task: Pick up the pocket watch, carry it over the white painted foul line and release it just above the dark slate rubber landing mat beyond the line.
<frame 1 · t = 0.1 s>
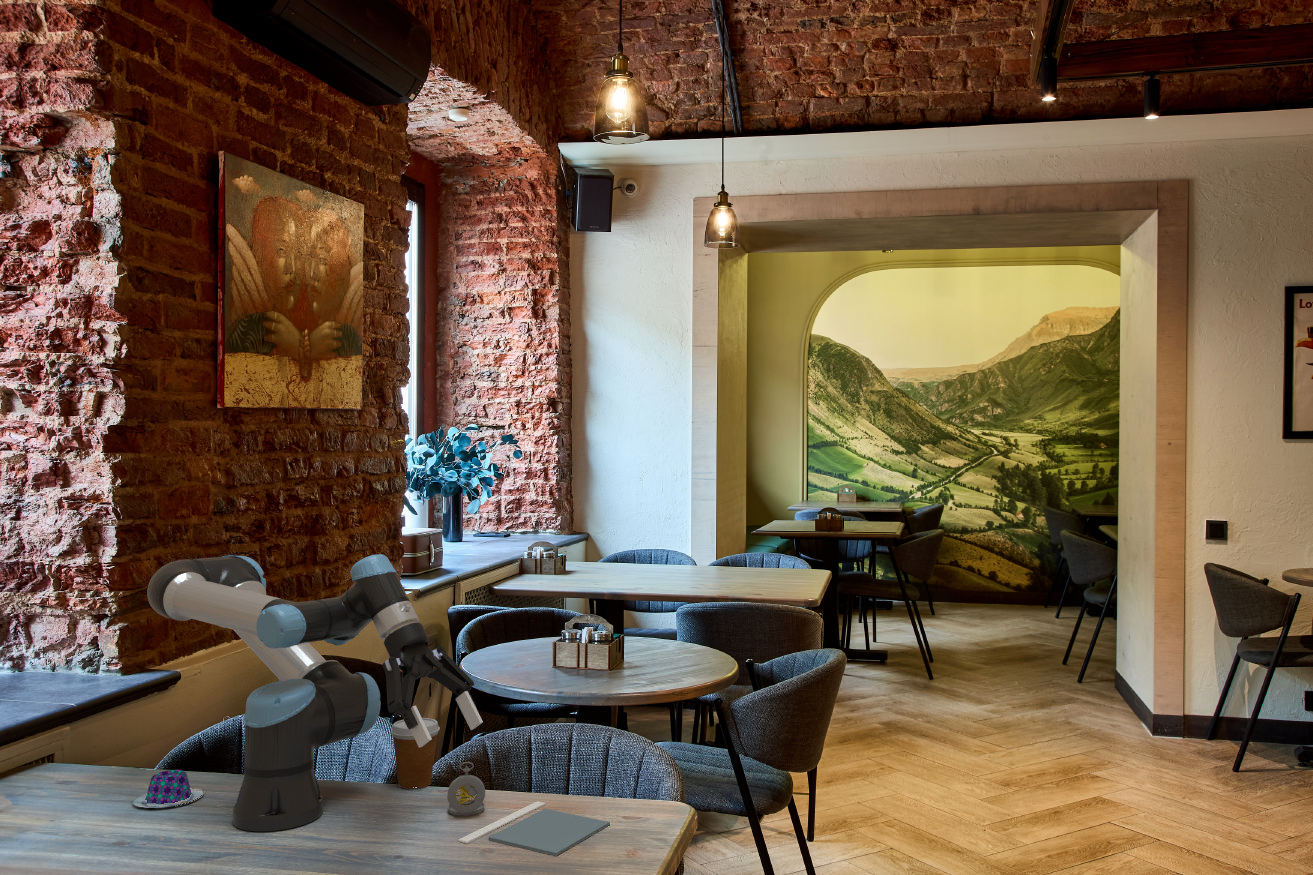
hand: (452, 734, 169), 15 cm above the table, tool tilted 35°, fingers open, 13 cm apart
landing mat: (550, 832, 164), on the table
foul line: (504, 821, 169), on the table
disposable coffee cup: (414, 784, 190), on the table
pocket watch: (465, 814, 173), on the table
purple domed brimmed part: (168, 802, 181), on the table
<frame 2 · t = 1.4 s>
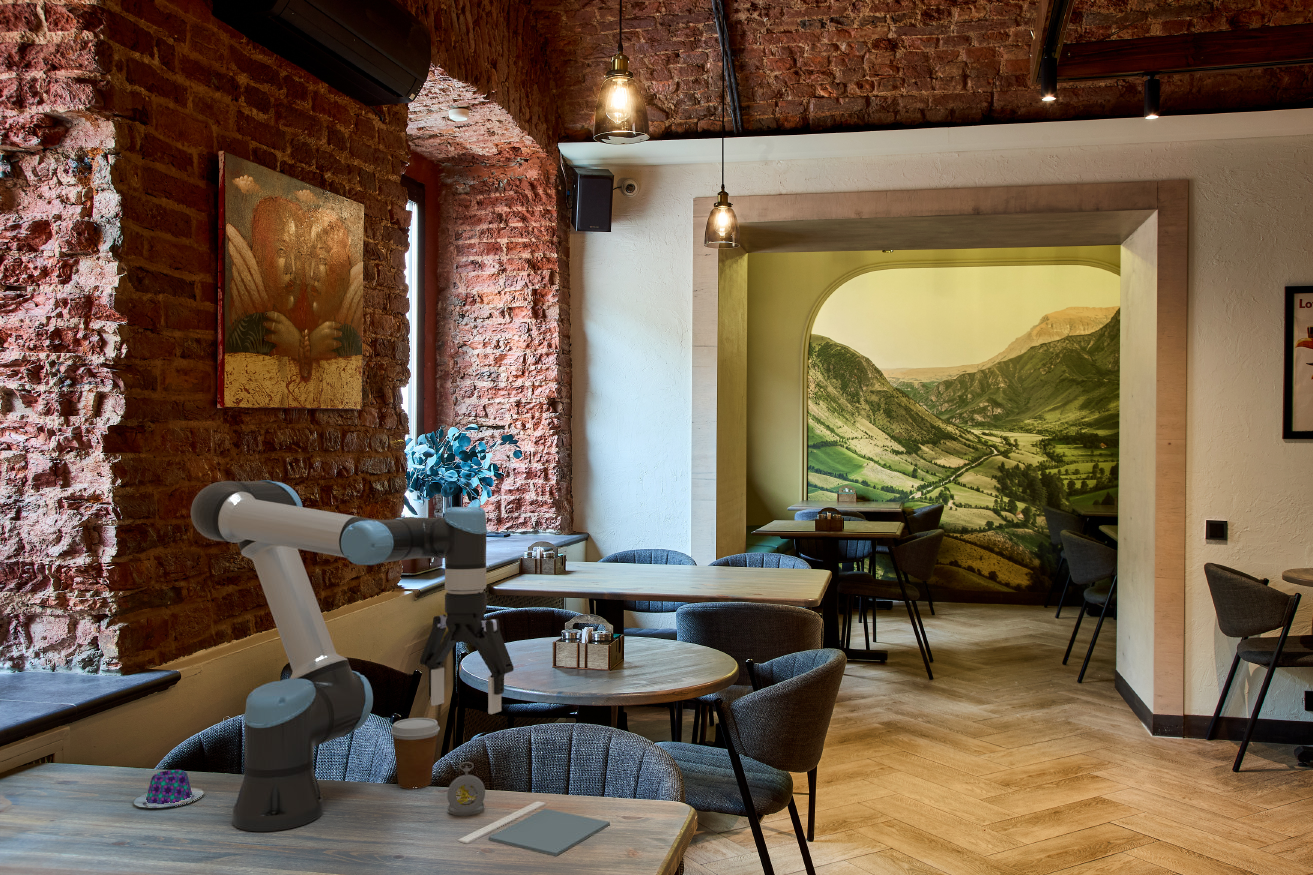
hand: (465, 708, 174), 19 cm above the table, tool pointing down, fingers open, 13 cm apart
nothing on the table moved.
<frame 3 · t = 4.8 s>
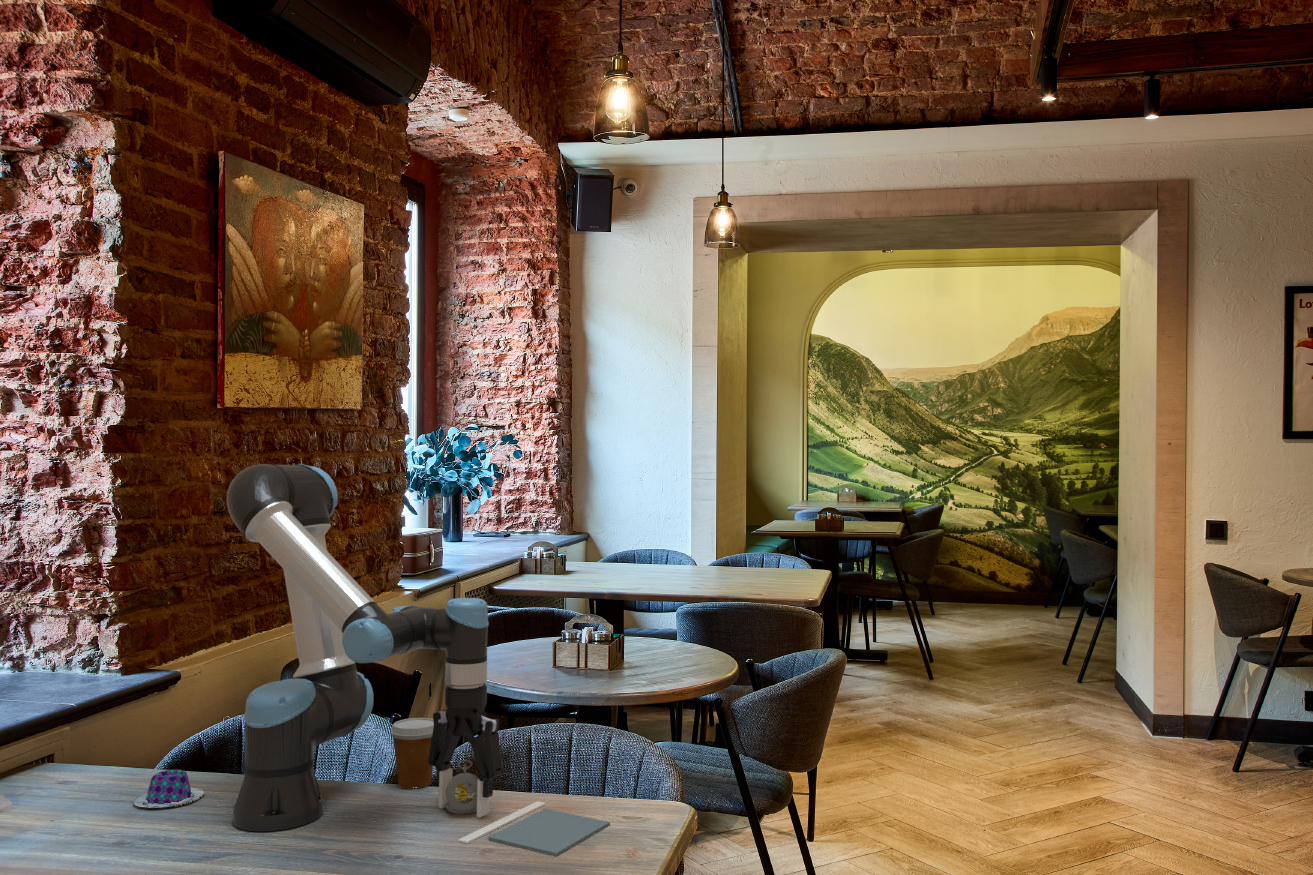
hand: (464, 809, 173), 1 cm above the table, tool pointing down, fingers closed on pocket watch, 8 cm apart
pocket watch: (463, 812, 173), on the table, touching gripper
everything else where it was.
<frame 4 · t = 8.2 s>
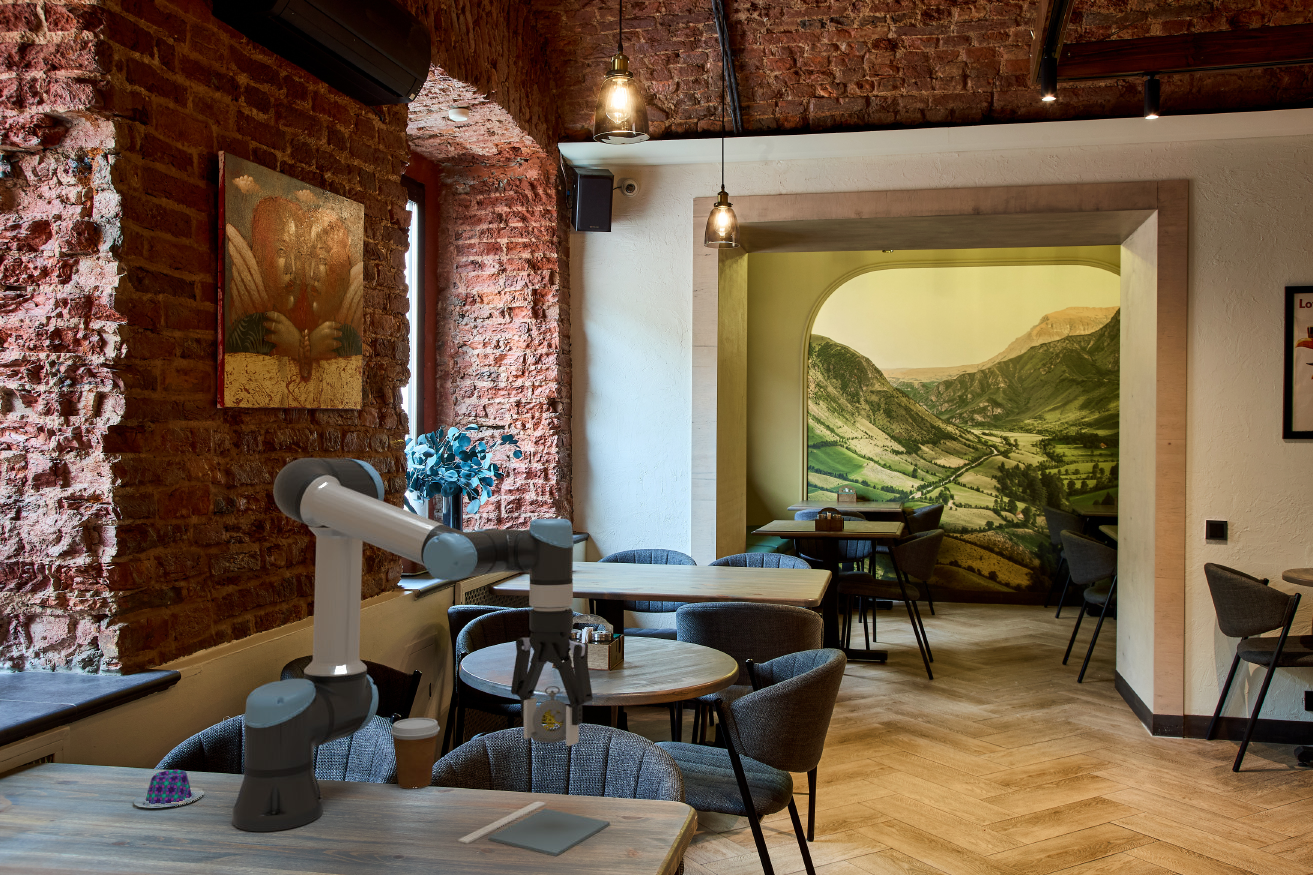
hand: (550, 739, 164), 16 cm above the table, tool pointing down, fingers closed on pocket watch, 8 cm apart
pocket watch: (550, 742, 164), point 15 cm above the table, touching gripper
everything else where it was.
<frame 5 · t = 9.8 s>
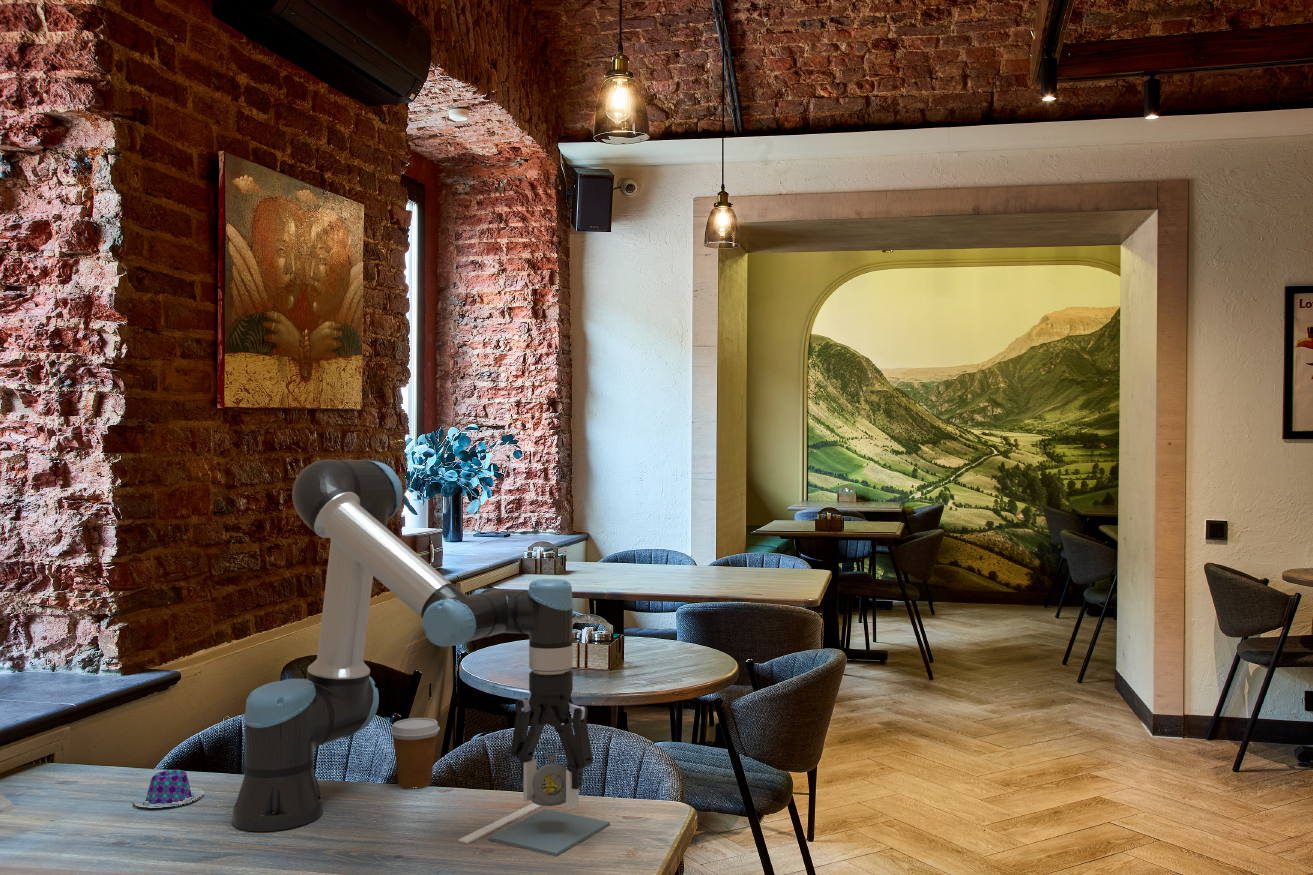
hand: (550, 802, 164), 5 cm above the table, tool pointing down, fingers closed on pocket watch, 8 cm apart
pocket watch: (550, 805, 164), point 5 cm above the table, touching gripper
everything else where it was.
when the fingers open (2 cm above the table, at t = 11.3 s): pocket watch drops 1 cm, resting on landing mat.
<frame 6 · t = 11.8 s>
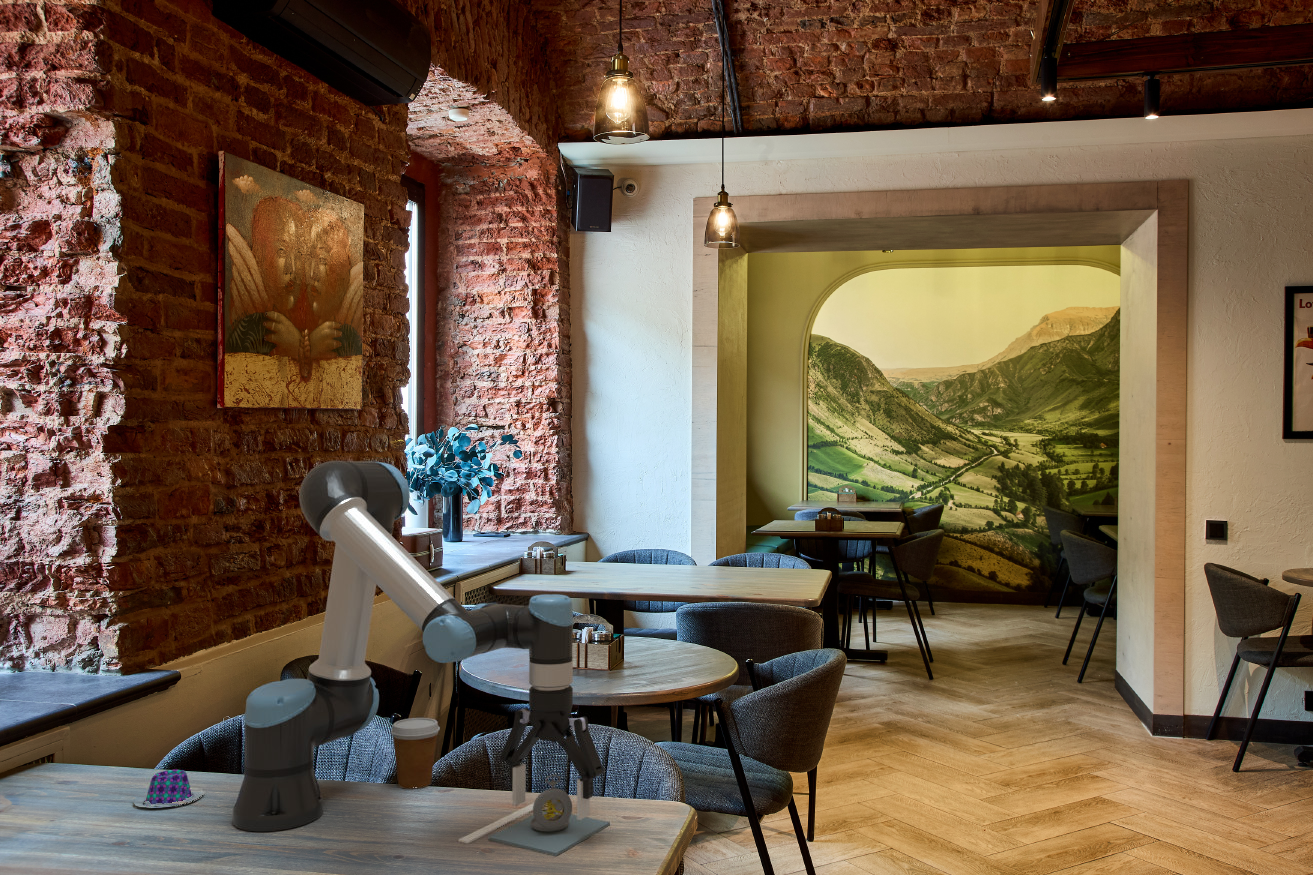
hand: (550, 810, 164), 4 cm above the table, tool pointing down, fingers open, 13 cm apart
pocket watch: (549, 830, 164), resting on landing mat
everything else where it was.
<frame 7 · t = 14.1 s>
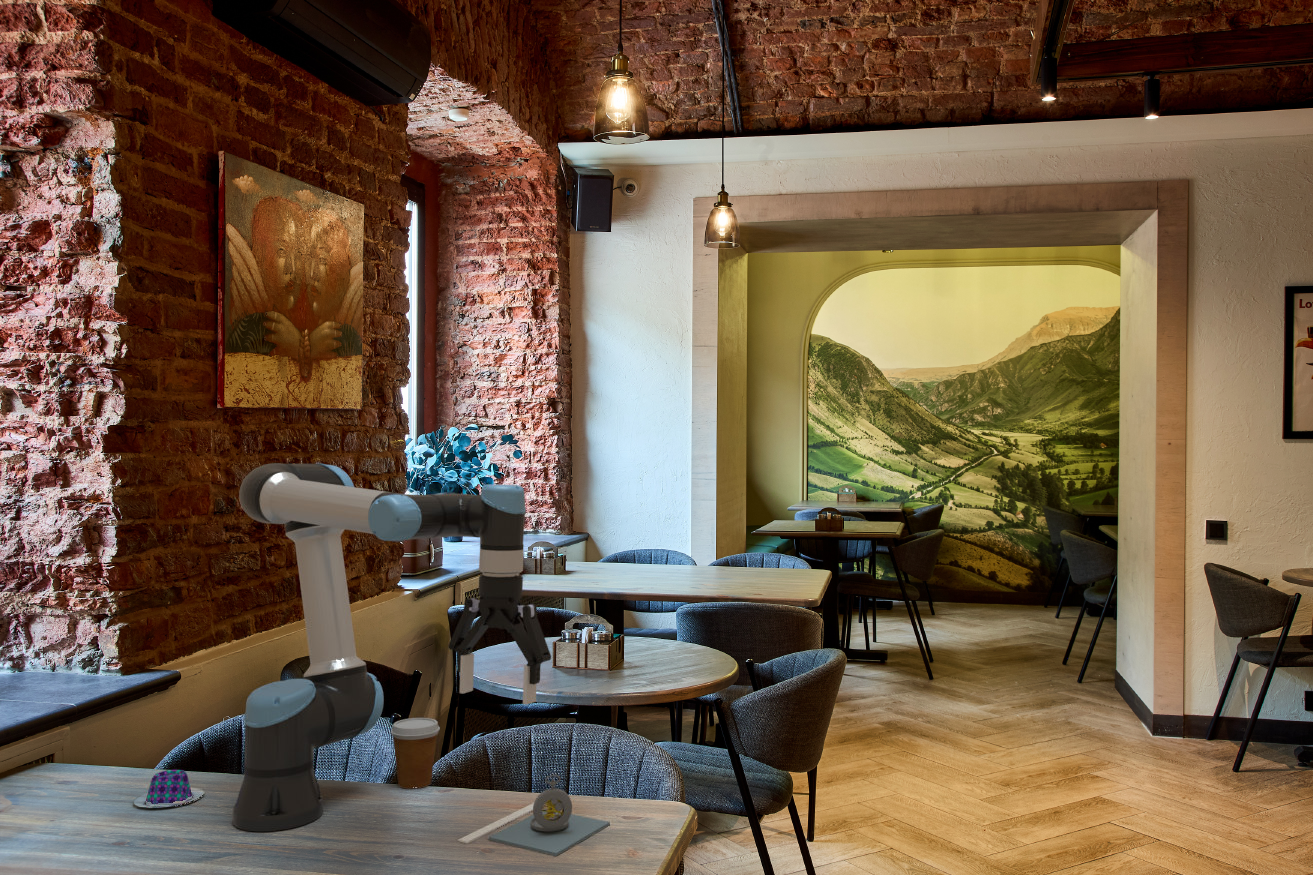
hand: (497, 697, 164), 23 cm above the table, tool pointing down, fingers open, 13 cm apart
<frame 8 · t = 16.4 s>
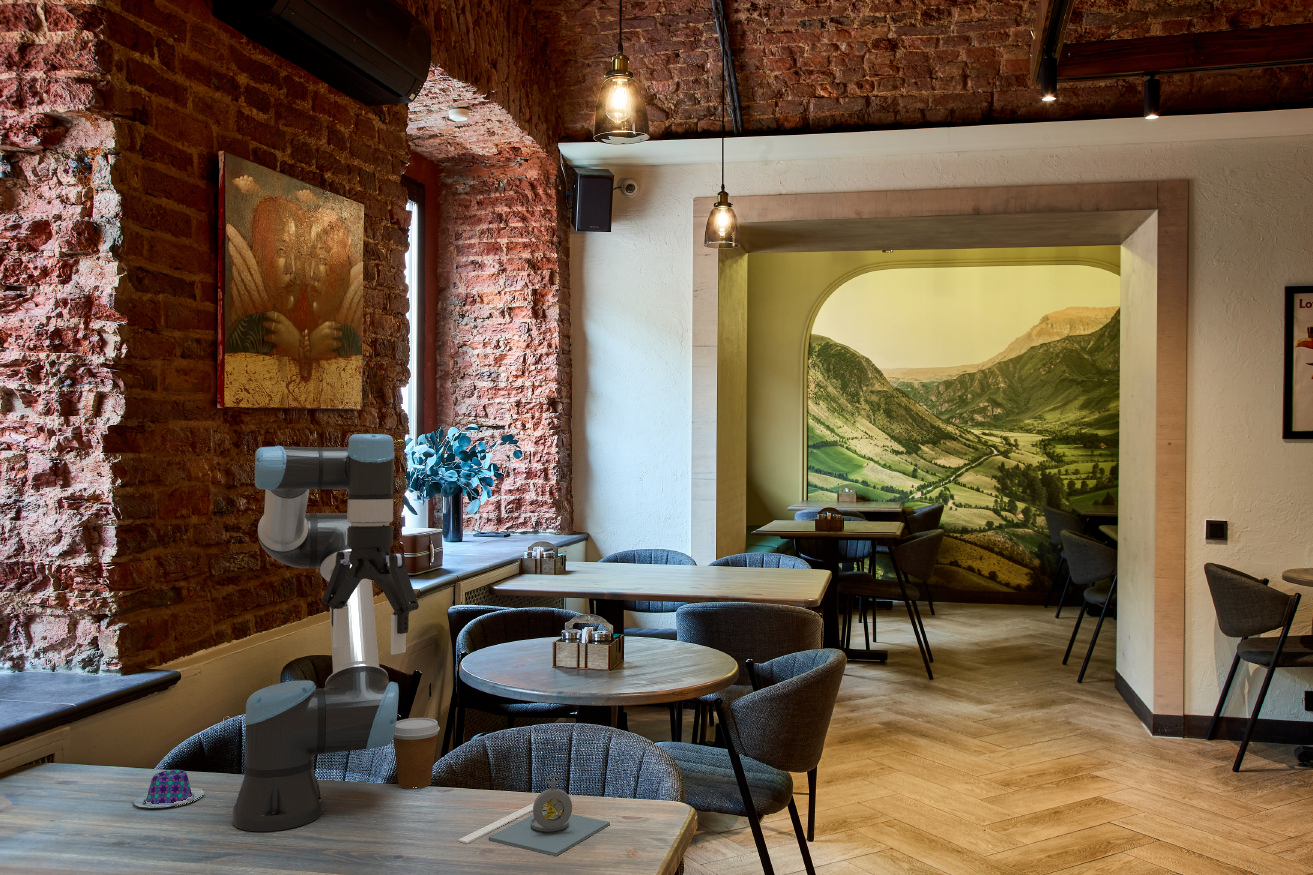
hand: (368, 649, 162), 32 cm above the table, tool pointing down, fingers open, 13 cm apart
at the end: pocket watch inside the target area (0.4 cm from its centre), resting on landing mat; the gripper is holding nothing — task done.
